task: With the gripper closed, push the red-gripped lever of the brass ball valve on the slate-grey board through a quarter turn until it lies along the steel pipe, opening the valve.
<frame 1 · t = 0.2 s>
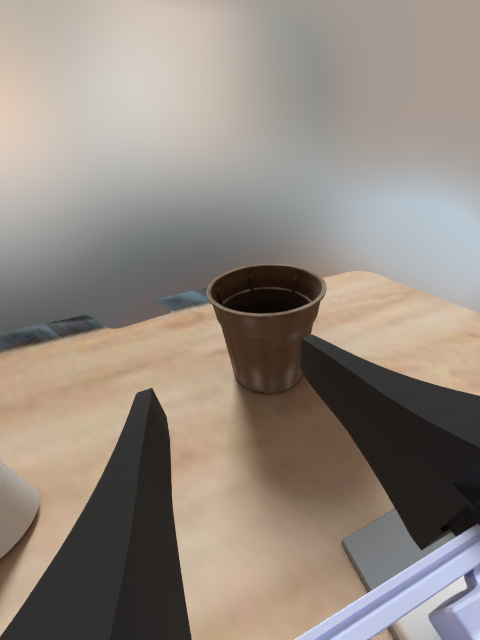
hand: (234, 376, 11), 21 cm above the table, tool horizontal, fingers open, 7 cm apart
plant pot: (268, 368, 41), on the table
can: (4, 528, 25), on the table
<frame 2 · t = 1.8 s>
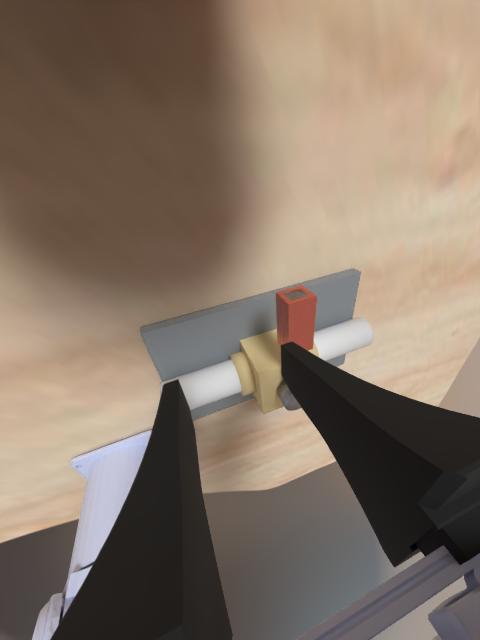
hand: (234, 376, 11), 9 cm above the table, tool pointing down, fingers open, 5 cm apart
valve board: (262, 346, 24), on the table
lever: (294, 357, 16), point 6 cm above the table, hinge at 0.0°
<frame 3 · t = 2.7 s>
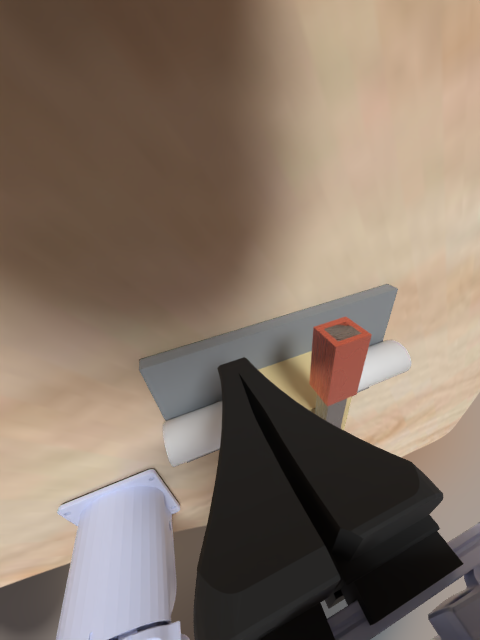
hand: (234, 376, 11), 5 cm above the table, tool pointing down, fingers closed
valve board: (280, 373, 20), on the table
lever: (330, 401, 13), point 6 cm above the table, hinge at 0.0°
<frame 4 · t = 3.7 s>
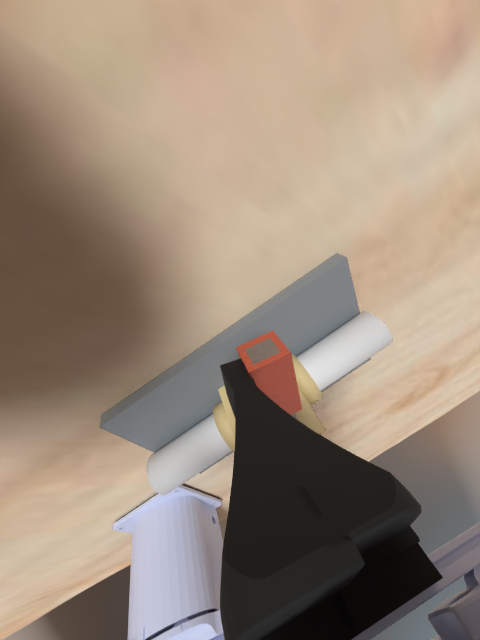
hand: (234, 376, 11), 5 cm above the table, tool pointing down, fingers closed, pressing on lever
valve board: (254, 378, 20), on the table
lever: (281, 415, 12), point 6 cm above the table, hinge at -13.4°, touching gripper
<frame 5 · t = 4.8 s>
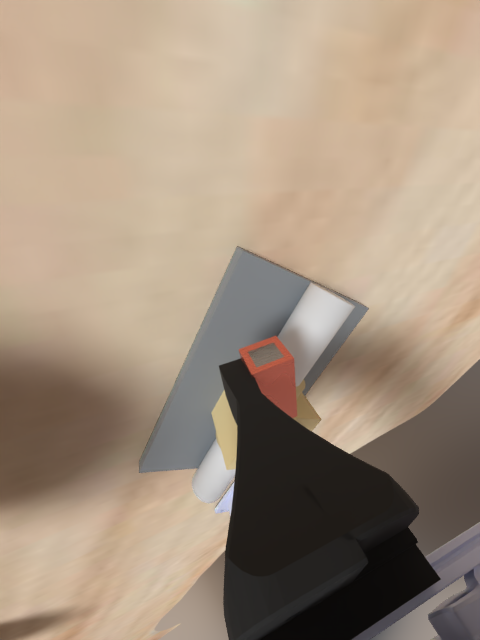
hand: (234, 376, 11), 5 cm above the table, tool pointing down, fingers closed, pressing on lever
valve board: (246, 384, 20), on the table
lever: (275, 421, 12), point 6 cm above the table, hinge at -52.3°, touching gripper
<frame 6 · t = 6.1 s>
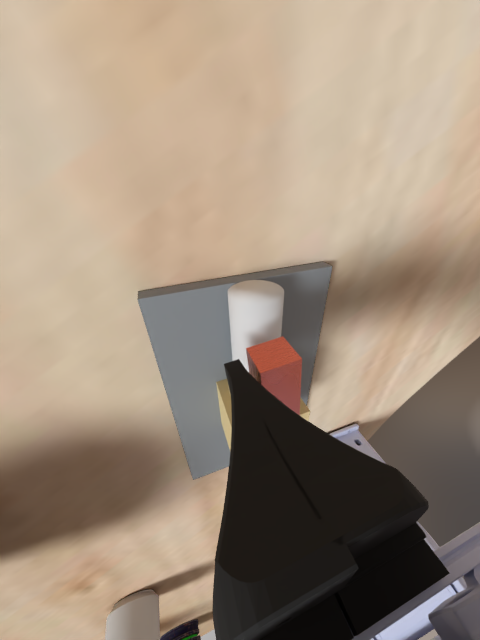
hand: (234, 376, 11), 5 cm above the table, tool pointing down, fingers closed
can: (134, 597, 37), on the table
storage jar: (179, 628, 60), on the table
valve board: (244, 385, 20), on the table
lever: (276, 423, 12), point 6 cm above the table, hinge at -85.0°, touching gripper
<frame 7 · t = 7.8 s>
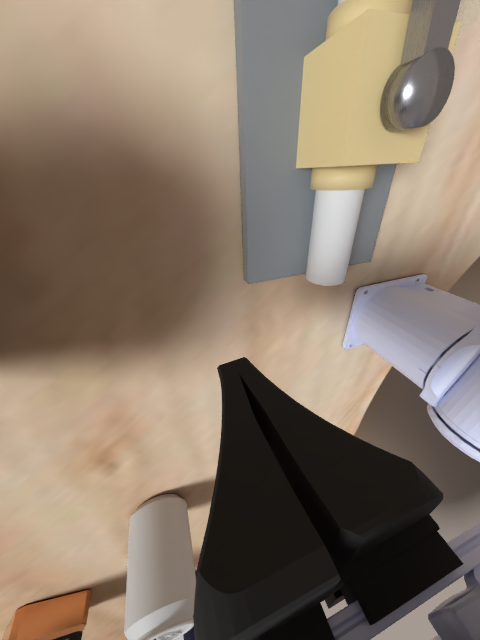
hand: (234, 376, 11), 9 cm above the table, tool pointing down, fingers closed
whiskey bottle: (50, 608, 38), on the table
can: (159, 504, 33), on the table
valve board: (324, 121, 15), on the table
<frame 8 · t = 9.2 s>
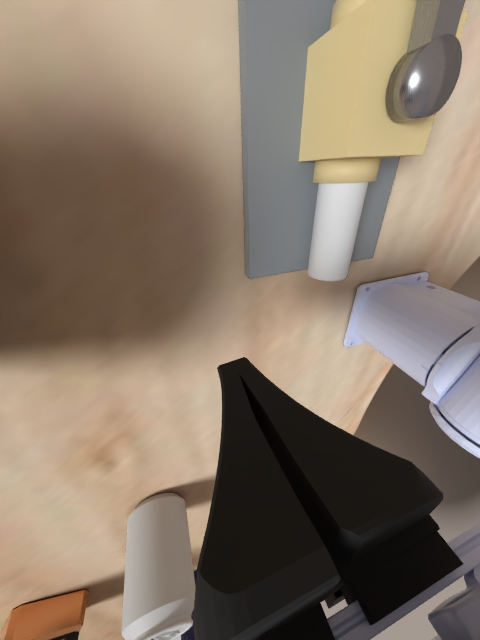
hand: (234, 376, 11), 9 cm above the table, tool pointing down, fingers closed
whiskey bottle: (46, 608, 38), on the table
can: (157, 503, 33), on the table
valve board: (328, 114, 15), on the table
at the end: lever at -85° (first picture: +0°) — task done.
